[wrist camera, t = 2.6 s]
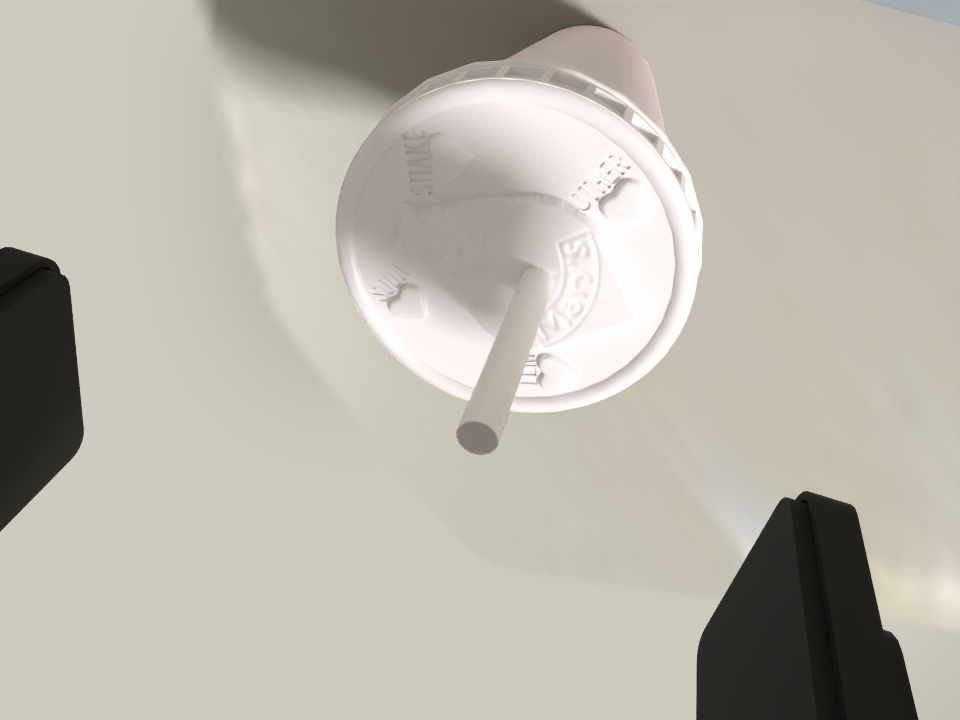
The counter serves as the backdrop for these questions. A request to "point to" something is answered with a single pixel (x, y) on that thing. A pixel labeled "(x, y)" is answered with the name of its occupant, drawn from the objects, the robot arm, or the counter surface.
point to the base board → (927, 8)
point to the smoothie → (524, 230)
